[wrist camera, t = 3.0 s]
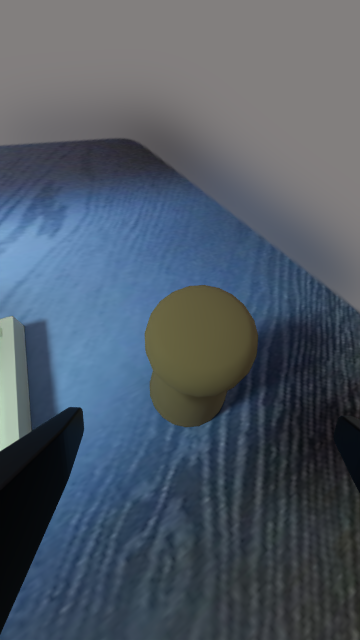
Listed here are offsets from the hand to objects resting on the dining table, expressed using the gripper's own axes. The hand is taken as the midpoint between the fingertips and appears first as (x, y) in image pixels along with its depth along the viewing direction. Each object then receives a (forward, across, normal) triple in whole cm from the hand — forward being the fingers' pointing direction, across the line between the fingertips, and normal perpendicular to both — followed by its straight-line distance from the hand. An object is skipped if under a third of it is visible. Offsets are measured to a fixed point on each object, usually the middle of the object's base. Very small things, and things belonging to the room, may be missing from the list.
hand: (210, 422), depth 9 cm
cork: (+10, 0, +5) cm, 12 cm away
